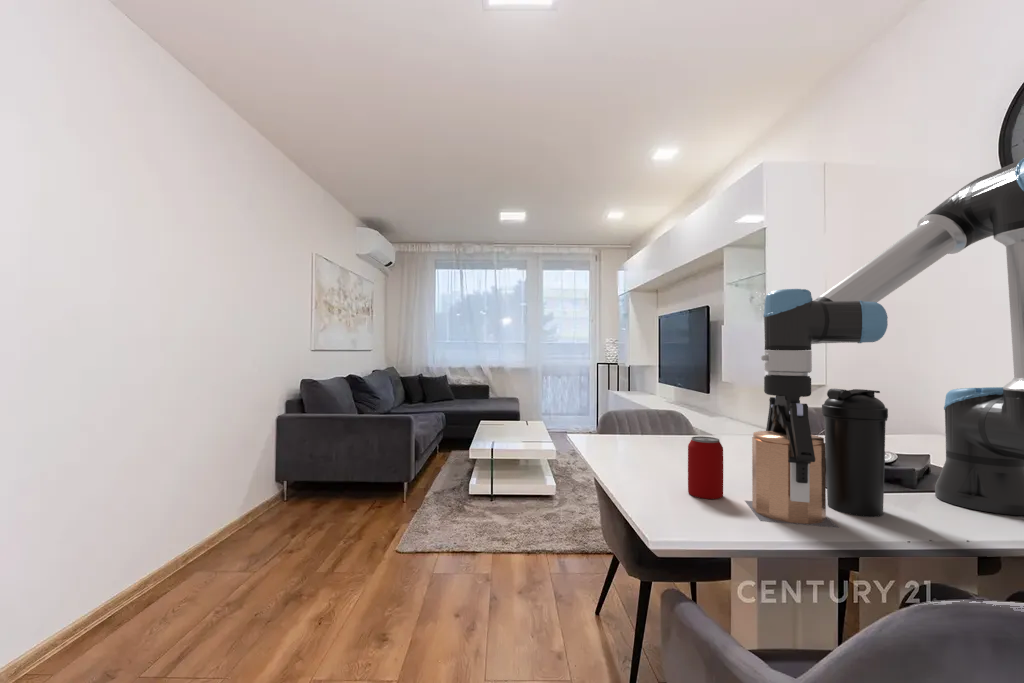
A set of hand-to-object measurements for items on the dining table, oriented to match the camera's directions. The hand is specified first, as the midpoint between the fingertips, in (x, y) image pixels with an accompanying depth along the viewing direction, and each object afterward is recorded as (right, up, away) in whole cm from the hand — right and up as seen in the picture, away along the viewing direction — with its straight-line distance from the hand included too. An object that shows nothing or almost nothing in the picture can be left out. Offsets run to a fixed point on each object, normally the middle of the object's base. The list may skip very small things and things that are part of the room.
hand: (787, 490), depth 88 cm
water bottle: (+14, -5, +2) cm, 15 cm away
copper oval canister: (0, -4, 0) cm, 4 cm away
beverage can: (-11, -5, +11) cm, 16 cm away
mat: (0, -5, 0) cm, 5 cm away
